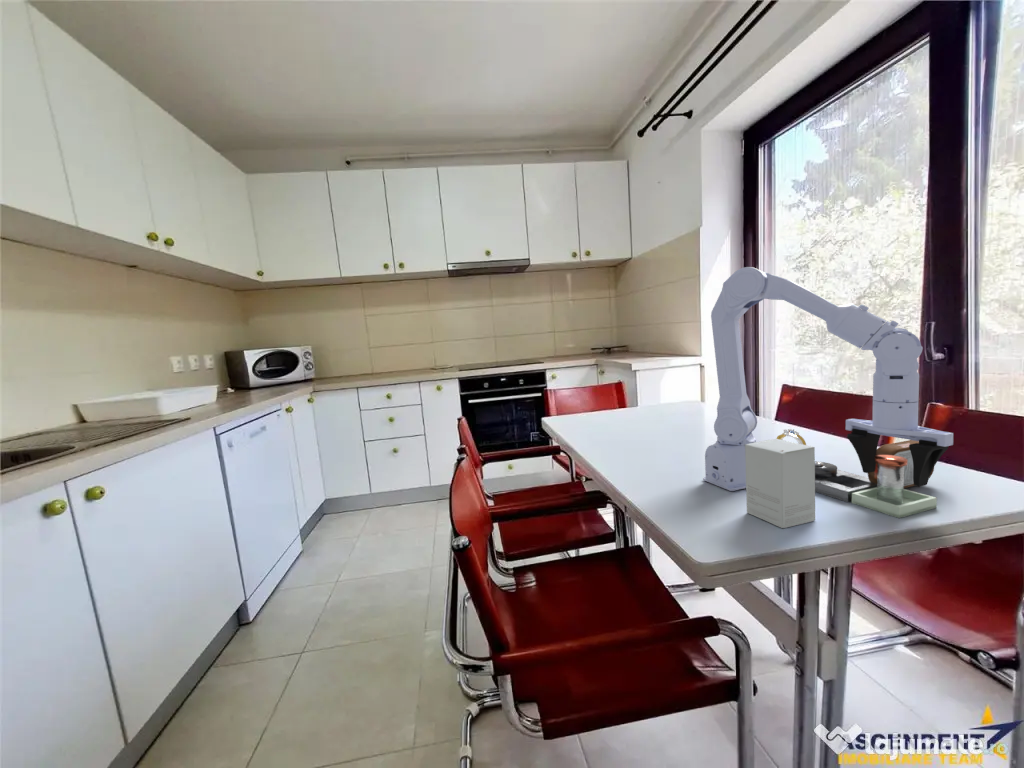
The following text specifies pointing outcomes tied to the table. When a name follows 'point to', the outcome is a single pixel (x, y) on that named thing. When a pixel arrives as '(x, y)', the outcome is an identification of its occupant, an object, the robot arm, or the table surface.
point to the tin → (902, 451)
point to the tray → (910, 506)
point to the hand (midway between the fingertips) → (893, 478)
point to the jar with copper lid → (890, 478)
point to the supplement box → (780, 482)
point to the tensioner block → (839, 482)
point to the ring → (792, 434)
